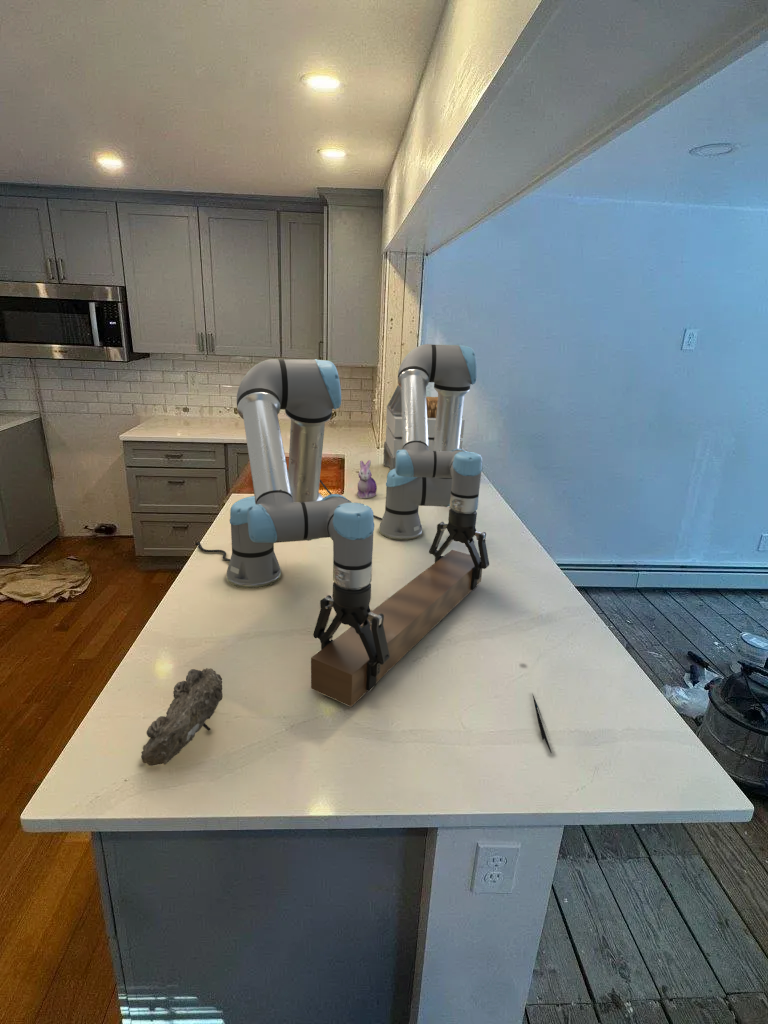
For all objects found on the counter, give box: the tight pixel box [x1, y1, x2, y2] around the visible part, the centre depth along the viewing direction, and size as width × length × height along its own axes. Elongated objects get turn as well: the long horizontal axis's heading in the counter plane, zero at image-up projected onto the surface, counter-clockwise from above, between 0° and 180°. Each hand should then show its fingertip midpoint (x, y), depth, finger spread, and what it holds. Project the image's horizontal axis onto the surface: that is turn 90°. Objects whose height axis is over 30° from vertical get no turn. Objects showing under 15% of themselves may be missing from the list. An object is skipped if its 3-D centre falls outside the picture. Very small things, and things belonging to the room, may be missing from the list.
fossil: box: [140, 667, 224, 767], centre depth 103 cm, size 22×10×15 cm
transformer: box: [383, 384, 465, 471], centre depth 268 cm, size 34×33×41 cm
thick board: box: [310, 549, 483, 708], centre depth 139 cm, size 66×10×7 cm, turn 149°
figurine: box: [356, 459, 378, 499], centre depth 236 cm, size 9×10×15 cm
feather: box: [522, 663, 555, 753], centre depth 115 cm, size 2×28×2 cm
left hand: (349, 677), depth 118 cm, fingers closed on thick board, 10 cm apart
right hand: (456, 583), depth 161 cm, fingers closed on thick board, 10 cm apart
